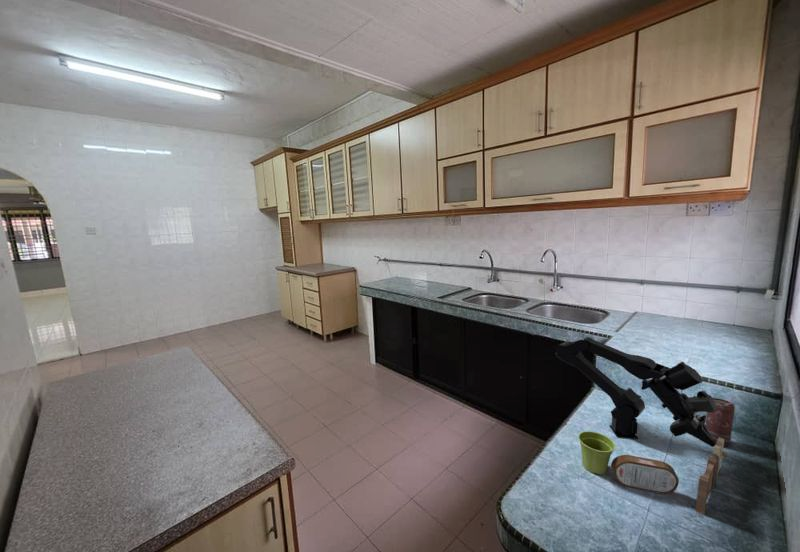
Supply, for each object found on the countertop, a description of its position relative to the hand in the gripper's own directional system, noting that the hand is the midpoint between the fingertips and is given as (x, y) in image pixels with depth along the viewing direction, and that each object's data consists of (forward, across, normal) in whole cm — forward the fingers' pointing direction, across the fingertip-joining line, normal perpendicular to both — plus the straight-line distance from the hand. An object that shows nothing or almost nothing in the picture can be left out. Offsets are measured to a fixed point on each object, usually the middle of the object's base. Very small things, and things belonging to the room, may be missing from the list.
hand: (714, 445), depth 95 cm
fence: (+6, -17, +4) cm, 18 cm away
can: (+4, +18, +6) cm, 20 cm away
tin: (-2, -24, +13) cm, 27 cm away
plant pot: (-10, -26, +21) cm, 35 cm away
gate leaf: (+6, -4, +4) cm, 8 cm away
